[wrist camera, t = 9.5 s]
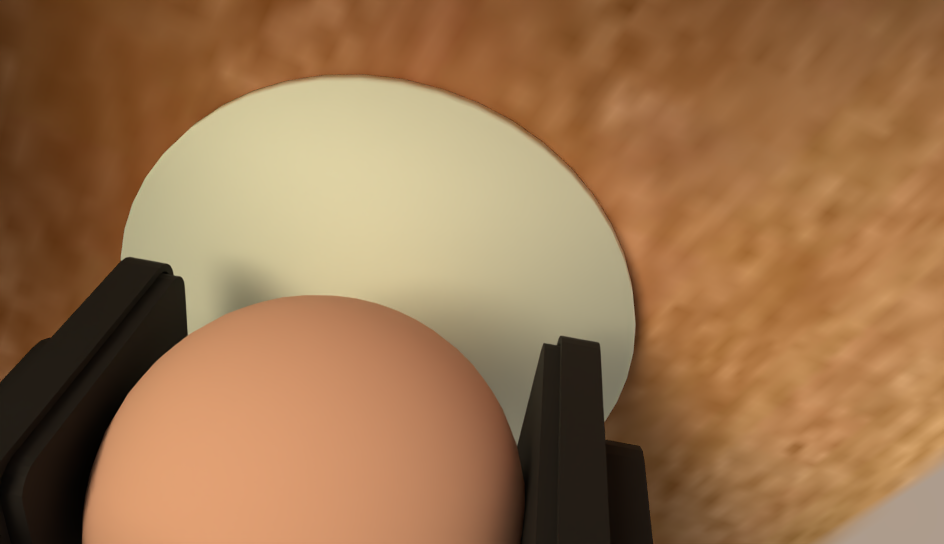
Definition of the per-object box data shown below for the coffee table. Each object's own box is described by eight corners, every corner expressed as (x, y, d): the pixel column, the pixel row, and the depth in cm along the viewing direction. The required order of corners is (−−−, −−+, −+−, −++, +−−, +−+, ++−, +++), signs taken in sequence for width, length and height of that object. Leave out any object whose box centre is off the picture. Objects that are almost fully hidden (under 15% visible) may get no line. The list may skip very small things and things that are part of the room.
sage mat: (702, 133, 10) (705, 141, 10) (571, 530, 15) (572, 543, 15) (104, 25, 10) (92, 31, 10) (148, 453, 15) (141, 464, 15)
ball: (567, 257, 10) (564, 601, 6) (502, 516, 13) (469, 876, 9) (184, 188, 10) (-83, 480, 6) (200, 459, 13) (21, 792, 9)
